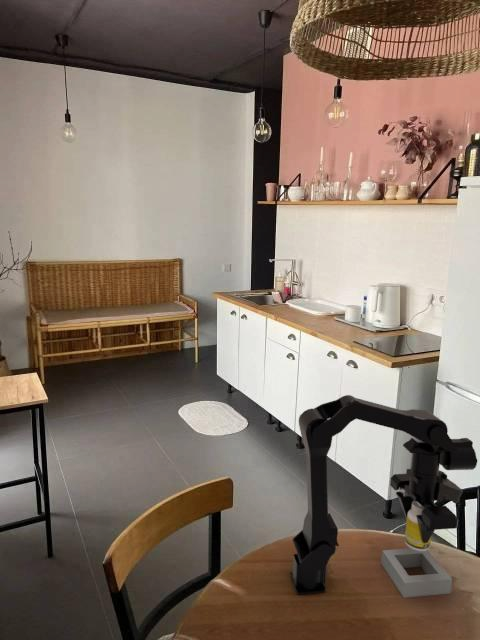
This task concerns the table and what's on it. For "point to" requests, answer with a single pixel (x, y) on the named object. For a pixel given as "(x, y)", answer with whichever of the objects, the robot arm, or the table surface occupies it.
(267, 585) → the table surface
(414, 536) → the supplement bottle
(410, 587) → the well
